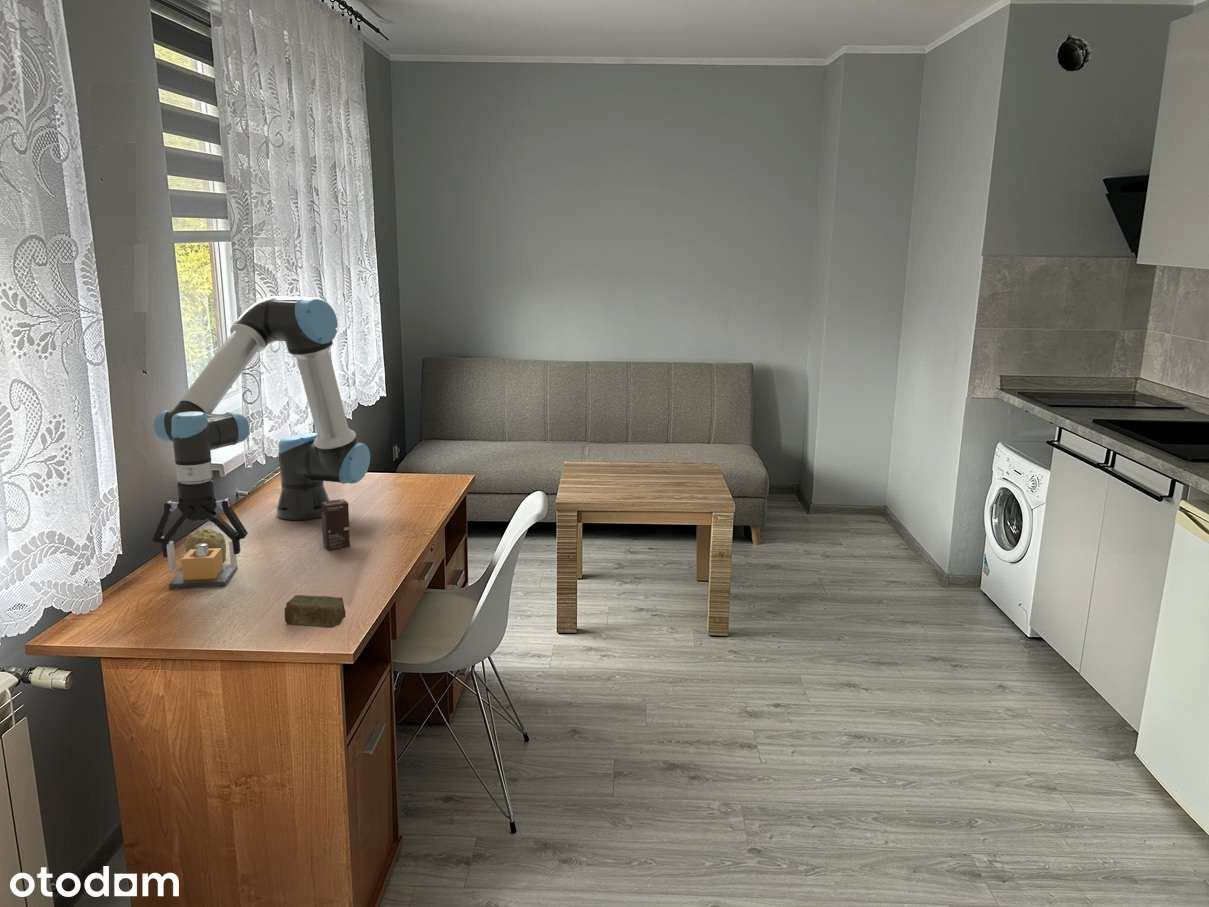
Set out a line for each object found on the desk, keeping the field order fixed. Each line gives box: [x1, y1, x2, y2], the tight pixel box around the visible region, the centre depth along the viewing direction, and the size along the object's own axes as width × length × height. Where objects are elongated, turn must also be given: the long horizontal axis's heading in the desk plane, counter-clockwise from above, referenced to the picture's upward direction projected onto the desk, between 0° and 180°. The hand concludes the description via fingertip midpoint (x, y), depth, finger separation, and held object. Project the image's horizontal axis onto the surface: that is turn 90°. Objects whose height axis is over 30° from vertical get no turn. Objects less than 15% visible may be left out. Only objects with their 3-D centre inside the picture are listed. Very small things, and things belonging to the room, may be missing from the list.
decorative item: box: [184, 527, 227, 561], centre depth 227 cm, size 10×10×10 cm
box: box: [321, 498, 351, 551], centre depth 236 cm, size 6×4×12 cm
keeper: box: [168, 543, 239, 590], centre depth 214 cm, size 12×12×8 cm
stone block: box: [284, 594, 347, 629], centre depth 189 cm, size 6×12×5 cm, turn 82°
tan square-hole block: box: [181, 548, 224, 580], centre depth 214 cm, size 7×7×5 cm
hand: (203, 568), depth 214 cm, fingers open, 13 cm apart
